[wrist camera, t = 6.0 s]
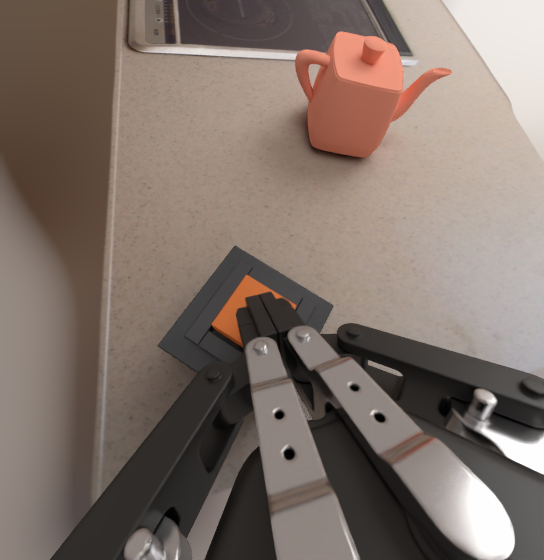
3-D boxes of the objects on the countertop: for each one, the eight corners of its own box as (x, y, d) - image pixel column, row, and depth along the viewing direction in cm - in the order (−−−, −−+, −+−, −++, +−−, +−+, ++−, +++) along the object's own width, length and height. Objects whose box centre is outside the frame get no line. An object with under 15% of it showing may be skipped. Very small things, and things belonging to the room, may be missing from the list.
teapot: (287, 94, 36) (304, -5, 26) (396, 118, 38) (451, 32, 28) (280, 149, 32) (299, 56, 22) (403, 173, 34) (470, 95, 24)
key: (262, 360, 16) (266, 360, 14) (214, 329, 17) (210, 324, 14) (290, 312, 18) (297, 305, 16) (245, 285, 18) (246, 273, 16)
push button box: (266, 410, 21) (278, 430, 15) (175, 350, 22) (147, 344, 15) (315, 316, 25) (342, 299, 18) (235, 268, 25) (234, 234, 19)
